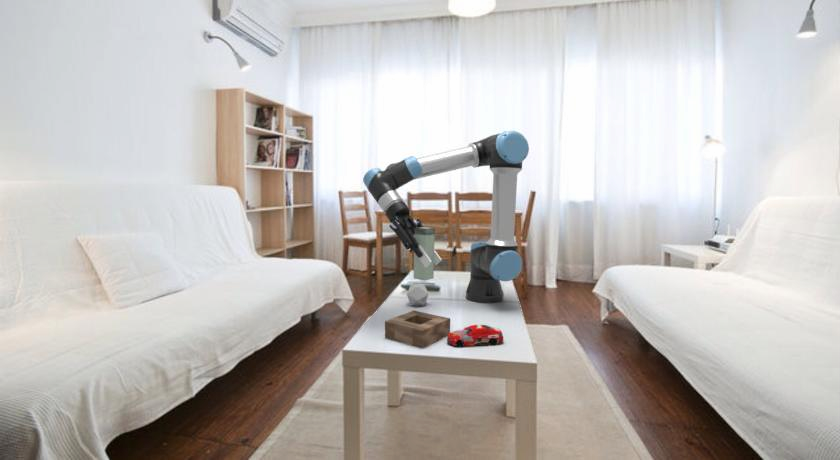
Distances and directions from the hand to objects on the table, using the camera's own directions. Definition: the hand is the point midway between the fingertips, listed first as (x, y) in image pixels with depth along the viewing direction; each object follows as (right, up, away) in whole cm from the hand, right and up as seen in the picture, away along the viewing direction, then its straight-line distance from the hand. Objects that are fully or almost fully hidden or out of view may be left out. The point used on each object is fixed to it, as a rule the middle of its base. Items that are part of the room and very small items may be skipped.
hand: (433, 263), depth 130 cm
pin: (-3, -5, +3) cm, 6 cm away
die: (-5, -18, +32) cm, 37 cm away
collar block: (-5, -22, -3) cm, 22 cm away
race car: (+12, -23, -8) cm, 27 cm away
